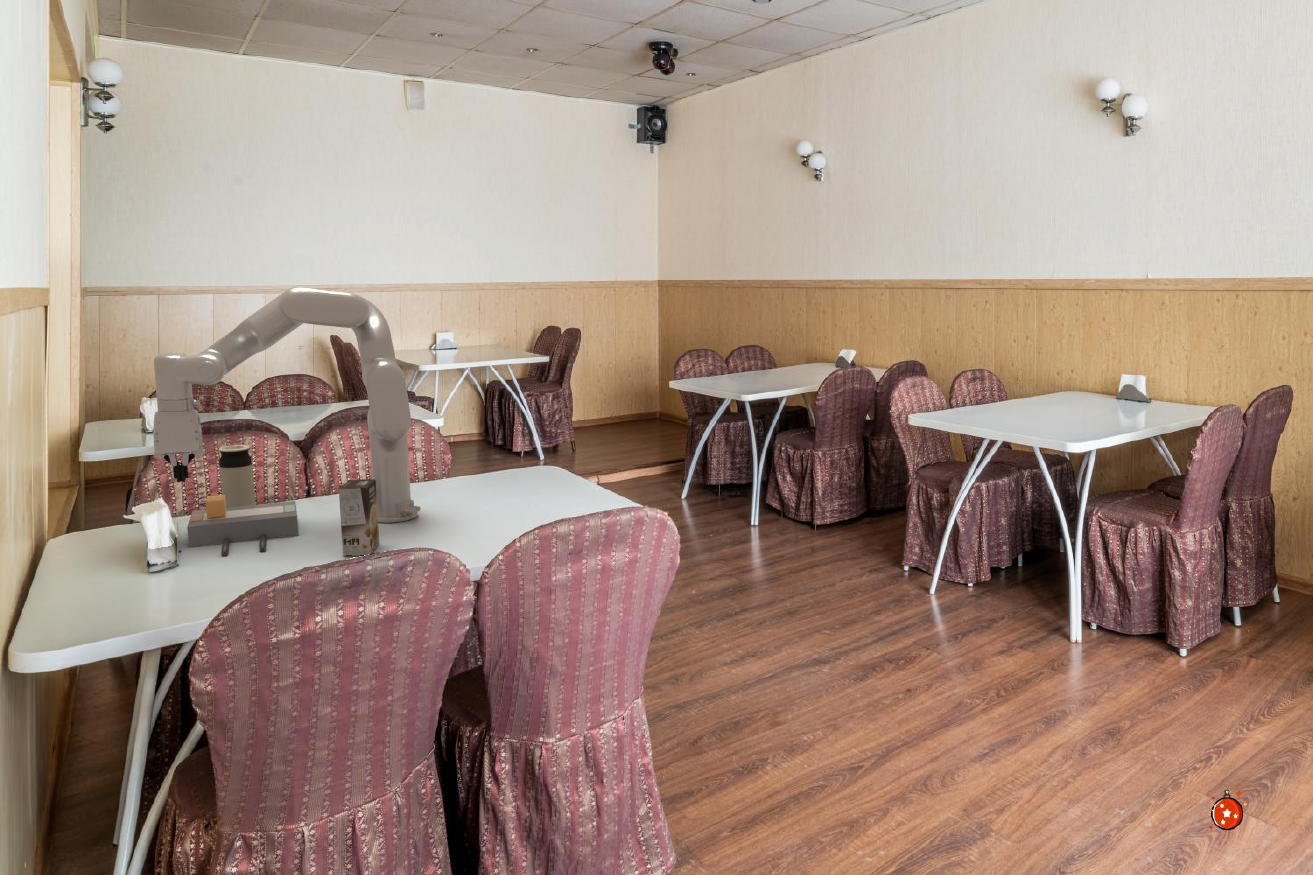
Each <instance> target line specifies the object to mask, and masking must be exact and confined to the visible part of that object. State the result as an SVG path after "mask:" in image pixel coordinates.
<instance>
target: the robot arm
mask: <svg viewBox="0 0 1313 875" xmlns="http://www.w3.org/2000/svg"><path fill="white" fill-rule="evenodd" d="M303 324H307V325H314V326H315V325H316V326H324V327H335V328H344V329H351V330H352V331H353V333H354V335H355V338H356V341H357V342H356V343H357V347H358V352H359V356H360V357H359V358H360V364H361V372H362V373H361V374H362V382H363V385H364V386H365V389H366V393H367V400H368V405H369V406H368V407H369V408H368V412H367V416H366V417H367V420H366V422H367V429H368V430H367V431H368V439H369V440H368V441H369V450H370V452H369V454H370V464H371V465H370V469H371V479H376V496H377V512H378V523H384V524H385V523H386V524H387V523H390V524H391V523H399V522H405V521H409V520H411V519H414V518H417V517H418V514H419V512H420V511H421V506H418V505H415V502H414V501H415V500H414V499H411V498H412V497H411V496H412V495H411V481H410V462H409V461H410V460H409V459H410V458H409V444H408V442H409V440H408V432H409V431H410V428H411V425H412V422H411V421H412V419H411V418H412V416H411V408H410V402H409V396H408V388H407V382H406V379H405V375H404V373H403V370H402V369H401V367H400V366H399V365H398V363H397V359H396V353H395V348H394V342H393V339H392V338H393V337H392V334H391V329H390V326H389V323H388V321H387V319H386V318H385V316H384V314H383V312H381V310H380V309H379V308H378V307H377V306H376V305H375V304H374V303H373V302H372V301H369V299H366V298H364V297H363V296H361V295H358V294H356V293H354V292H341V291H332V290H324V289H316V288H309V287H304V286H299V285H298V286H293V287H290V288H288V289H286V290H285V291H284V292H282V293H281V294H279V295H278V296H276V297H275V298H274V299H272V300H271V301H269V302H268V303H267V304H265V305H263V306H262V307H261V308H260V309H258V310H257V311H255V312H254V313H252V314H251V315H249V316H247V317H246V318H245V319H244V320H243V321H241V322H240V323H239V324H238V325H237V326H236V327H235V328H234V329H232V330H231V331H230V332H228V333H227V334H225V335H224V336H223V337H221V338H220V339H218V340H217V341H216V342H214V343H213V344H212V345H210V346H209V347H207V348H205V349H204V350H203V351H201V352H200V353H198V354H193V355H187V354H184V353H161V354H160V353H159V354H157V355H156V356H155V357H154V358H153V367H154V379H155V380H154V381H155V382H154V383H155V393H156V394H155V395H156V404H157V411H155V412H154V415H153V416H154V417H153V431H152V432H153V433H152V434H153V449H154V453H153V459H157V460H164V461H166V463H168V464H170V465H171V466H172V470H173V479H176V482H177V484H178V483H181V482H182V483H185V482H186V479H188V478H189V467H188V466H189V463H191V462H192V461H193V459H196V458H199V457H203V456H205V450H204V447H203V445H204V444H203V443H204V440H203V432H202V424H201V419H200V415H199V412H198V410H197V409H194V408H195V407H200V406H201V401H200V400H198V399H194V397H193V396H194V395H193V385H202V386H211V385H216V384H218V383H220V381H222V380H223V378H224V376H225V375H227V374H229V372H231V371H233V369H236V367H238V366H239V365H241V364H242V363H244V362H245V361H246V360H248V359H250V358H251V357H253V356H254V355H256V354H259V353H261V352H264V351H266V350H268V349H269V348H271V347H272V346H274V345H275V344H277V343H278V342H279V341H281V340H282V339H284V338H285V337H286V336H288V335H289V334H290V333H292V332H293V331H294V330H296V329H298V328H299V327H301V325H303ZM177 454H182V461H181V463H180V462H179V461H178V456H177Z"/></svg>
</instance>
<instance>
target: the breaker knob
mask: <svg viewBox="0 0 1313 875" xmlns="http://www.w3.org/2000/svg"><path fill="white" fill-rule="evenodd" d="M205 508H206V509H205V510H206V511H207V518H212V517H222V516H226V511H227V510H226V499H225V495H222V494H219V495H218V494H217V495H210V496H208V495H207V496H206V499H205Z"/></svg>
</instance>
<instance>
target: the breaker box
mask: <svg viewBox="0 0 1313 875" xmlns="http://www.w3.org/2000/svg"><path fill="white" fill-rule="evenodd" d="M226 510H227V511H226V516H222V517H212V518H207V511H206V509H197V510H192V512H191V515H190V517H189V520H188V523H187V526H186V528H187V529H186V530H187V539H188V546H189V548H195V546H196V547H203V545H205V546H211V545H212V546H214V545H221V544H222V546H221V552H220V554H221V555H222V557H223V556H224V557H226V556H227V555H228V554H229V547H230V543H240V542H241V543H242V542H250V541H257V540H258V541H259V551H260V552H265V551H266V549H267V540H268V539H278V538H284V537H285V538H286V537H295V536H299V525H298V523H299V522H298V513H297V512H298V511H297V504H296V500H293V501H292V500H291V501H281V502H270V503H261V504H256V505H248V506H237V507H227V508H226ZM213 544H214V545H213Z"/></svg>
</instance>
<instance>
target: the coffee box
mask: <svg viewBox="0 0 1313 875" xmlns="http://www.w3.org/2000/svg"><path fill="white" fill-rule="evenodd" d="M338 497H339V498H338V499H339V511H340V512H339V513H340V527H341V544H342V545H341V546H342V556H343V557H347V556H346V555H352V556H351V557H361V556H360V555H368V554H371V555H372V554H373V552H374V551H375V550H376V549H377V548H378V546H379V545H380V534H379V533H380V531H379V522H378V512H377V496H376V479H372V478H371V479H370V478H368V479H365V478H363V479H350V480H348V481H346V482H345V483H344V484H342V485H341V486H340V487H338ZM372 551H373V552H372Z"/></svg>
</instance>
